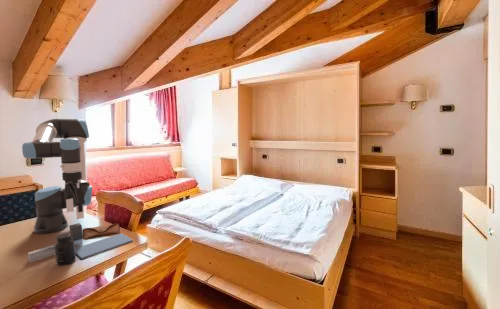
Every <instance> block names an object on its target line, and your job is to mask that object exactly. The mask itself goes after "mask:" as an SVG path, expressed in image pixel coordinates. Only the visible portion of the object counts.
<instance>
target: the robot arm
mask: <svg viewBox="0 0 500 309" xmlns="http://www.w3.org/2000/svg"><path fill="white" fill-rule="evenodd" d="M89 138H90V134H89V129H88V125H87V121H86V120H85V119H84V118H83V119H81V118H80V119H79V118H52V119H51V118H50V119H48V120H45V121H44V122H42V123H39V125H38V126H37V127H36V129H35V135H34V137H33V139H32V141H28V142H23V143H22V146H21V147H22V148H21V151H22V156H23V157H24V158H25V159H35V160H36V159H47V158H48V159H49V158H60V160H61V162H60V163H61V165H60V168H61V171H62V173H61V175H62V176H61V177H62V181H64V188H62V187H61V186H60V185H57V186H56V185H54V186H47V187H44V188H41V189H39V190H37V191H36V192H35V193H34V198H35V199H34V201H35V202H34V203H35V210H36V220H35V223H34V226H33V232H34V233H35V234H40V235H41V234H42V235H43V234H45V235H46V234H51V233H56V232H60V231H62V230H65V229H66V228H67V227H69V226H68V220H67V218H66V216H65V215H64V209H66V213H71V212H74V210H75V213H76V215H75V216H76V219H77V220H81V219H83V218H85V214H84V212H85V211H84V207H86V206H89V205H91V203H92V196H93V185H91V184H90V182H89V181H88V180H87V174H86V173H87V170H86V159H85V158H86V157H85V156H86V155H85V154H86V153H85V143H86V142H87V139H89ZM54 139H59V141H53V140H54Z"/></svg>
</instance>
